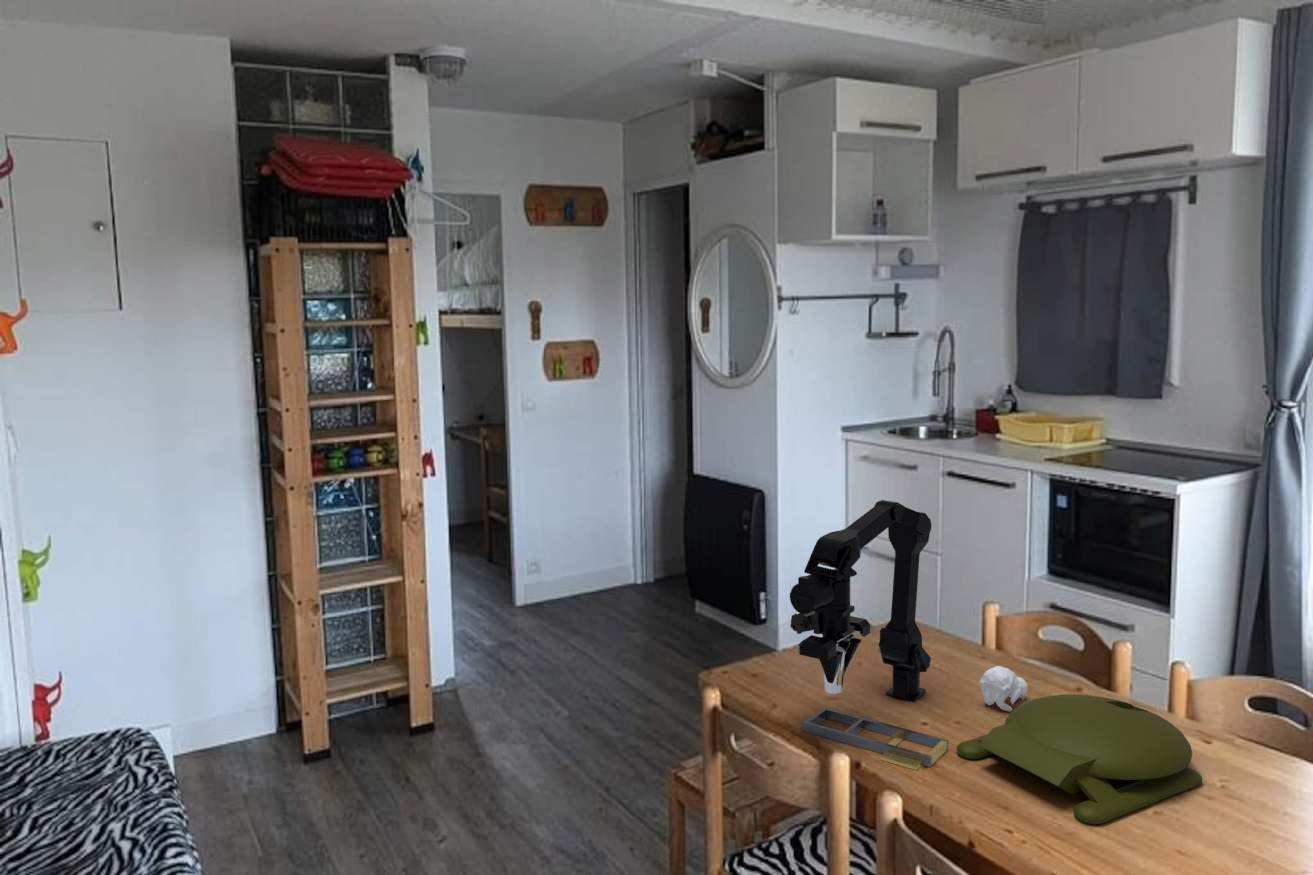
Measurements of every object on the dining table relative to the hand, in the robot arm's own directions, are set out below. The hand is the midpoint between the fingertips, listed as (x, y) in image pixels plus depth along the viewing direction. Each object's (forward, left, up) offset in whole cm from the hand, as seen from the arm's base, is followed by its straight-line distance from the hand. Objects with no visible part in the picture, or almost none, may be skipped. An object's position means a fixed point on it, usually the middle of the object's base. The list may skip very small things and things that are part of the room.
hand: (835, 679), depth 188 cm
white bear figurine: (-31, +23, -11) cm, 40 cm away
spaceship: (-13, +43, -11) cm, 46 cm away
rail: (0, +8, -10) cm, 13 cm away
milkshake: (0, 0, -3) cm, 3 cm away
